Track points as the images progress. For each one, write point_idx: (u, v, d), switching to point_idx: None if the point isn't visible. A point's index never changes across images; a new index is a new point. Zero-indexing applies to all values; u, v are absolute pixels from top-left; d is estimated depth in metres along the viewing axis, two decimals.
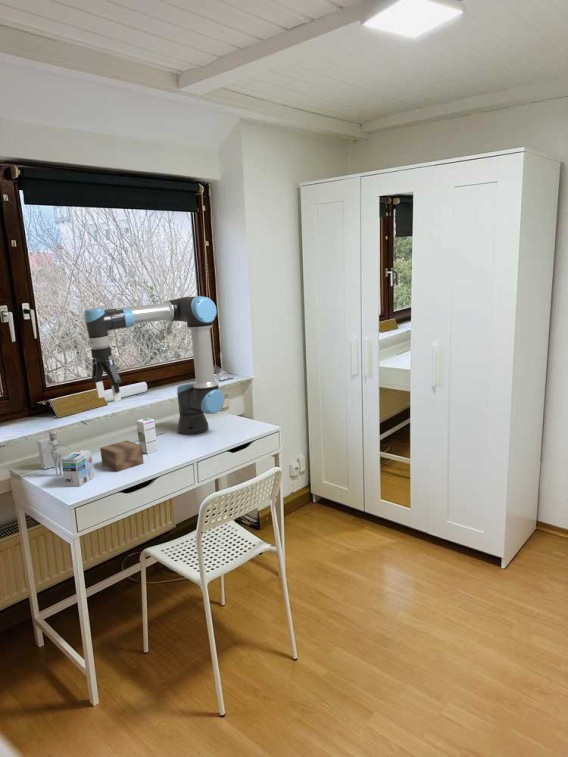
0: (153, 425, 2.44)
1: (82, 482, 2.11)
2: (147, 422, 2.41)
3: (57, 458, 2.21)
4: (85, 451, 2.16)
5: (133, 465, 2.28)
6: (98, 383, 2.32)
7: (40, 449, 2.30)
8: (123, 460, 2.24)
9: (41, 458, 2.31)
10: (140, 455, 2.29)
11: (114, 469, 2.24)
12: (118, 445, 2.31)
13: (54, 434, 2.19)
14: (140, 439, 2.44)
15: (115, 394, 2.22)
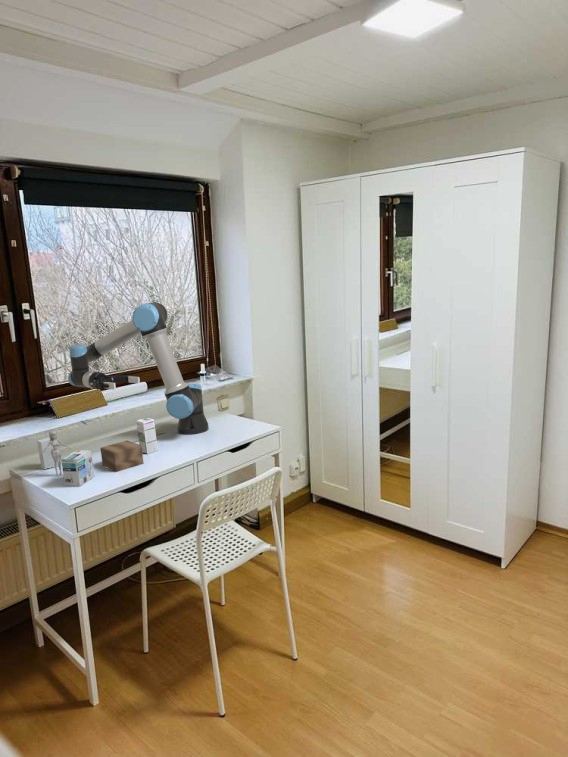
0: (153, 425, 2.44)
1: (82, 482, 2.11)
2: (147, 422, 2.41)
3: (57, 458, 2.21)
4: (85, 451, 2.16)
5: (133, 465, 2.28)
6: (129, 380, 2.54)
7: (40, 449, 2.30)
8: (122, 460, 2.24)
9: (41, 458, 2.31)
10: (140, 455, 2.29)
11: (114, 469, 2.24)
12: (118, 445, 2.31)
13: (54, 434, 2.19)
14: (141, 439, 2.44)
15: (109, 387, 2.41)
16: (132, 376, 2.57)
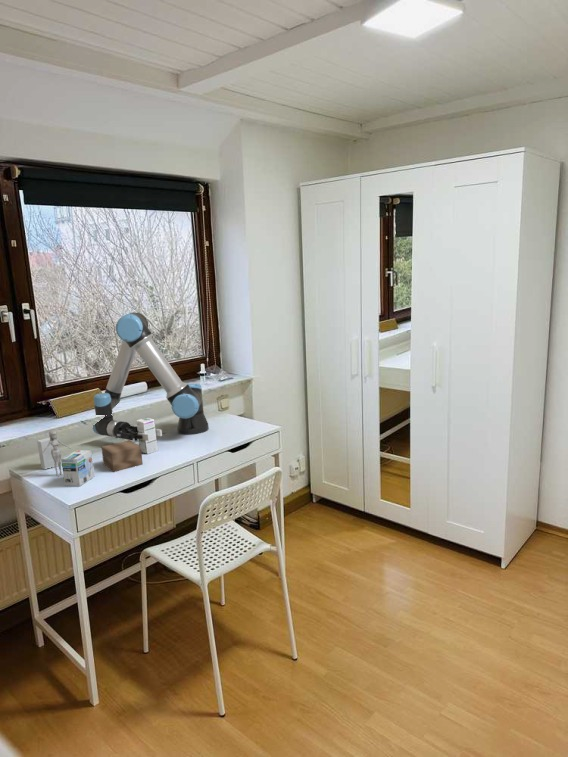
0: (153, 425, 2.44)
1: (82, 482, 2.11)
2: (147, 422, 2.41)
3: (57, 458, 2.21)
4: (85, 451, 2.16)
5: (132, 465, 2.27)
6: None
7: (40, 449, 2.30)
8: (120, 461, 2.24)
9: (41, 458, 2.31)
10: (139, 456, 2.28)
11: (112, 469, 2.24)
12: (119, 445, 2.31)
13: (54, 434, 2.19)
14: None
15: (143, 438, 2.40)
16: None
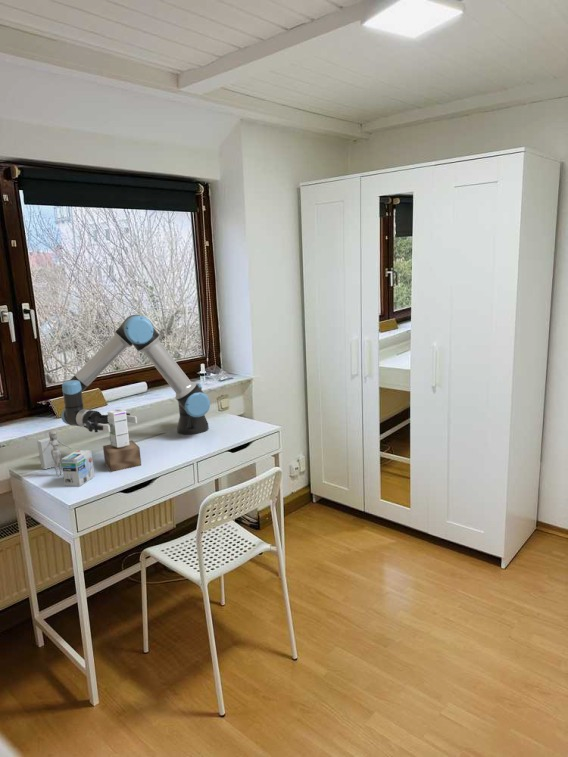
0: (125, 417, 2.28)
1: (82, 482, 2.11)
2: (118, 413, 2.26)
3: (57, 458, 2.21)
4: (85, 451, 2.16)
5: (130, 466, 2.27)
6: None
7: (40, 449, 2.30)
8: (118, 461, 2.24)
9: (41, 458, 2.31)
10: (137, 457, 2.28)
11: (110, 469, 2.25)
12: None
13: (54, 434, 2.19)
14: (111, 432, 2.28)
15: (104, 429, 2.22)
16: (129, 414, 2.38)
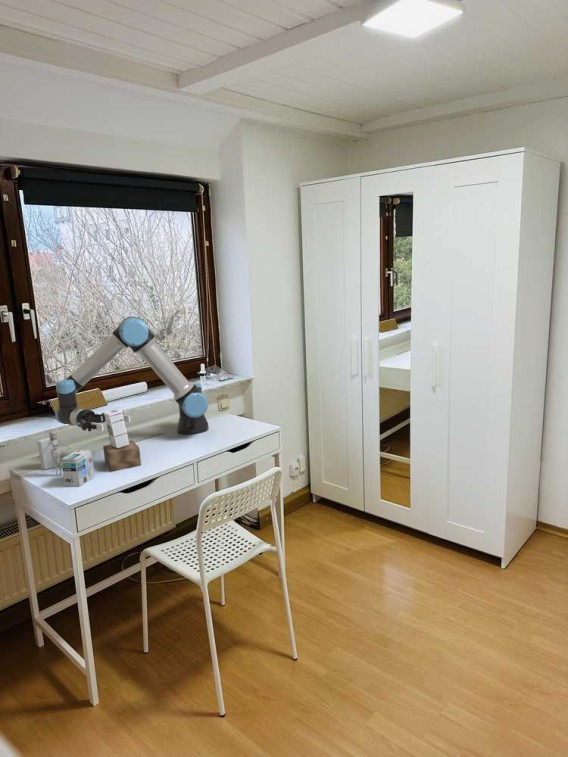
0: (121, 417, 2.27)
1: (82, 482, 2.11)
2: (114, 414, 2.25)
3: (57, 458, 2.21)
4: (85, 451, 2.16)
5: (130, 466, 2.27)
6: None
7: (40, 449, 2.30)
8: (117, 461, 2.24)
9: (41, 458, 2.31)
10: (137, 457, 2.27)
11: (109, 469, 2.25)
12: None
13: (54, 434, 2.19)
14: (110, 433, 2.27)
15: (97, 428, 2.24)
16: (123, 414, 2.40)
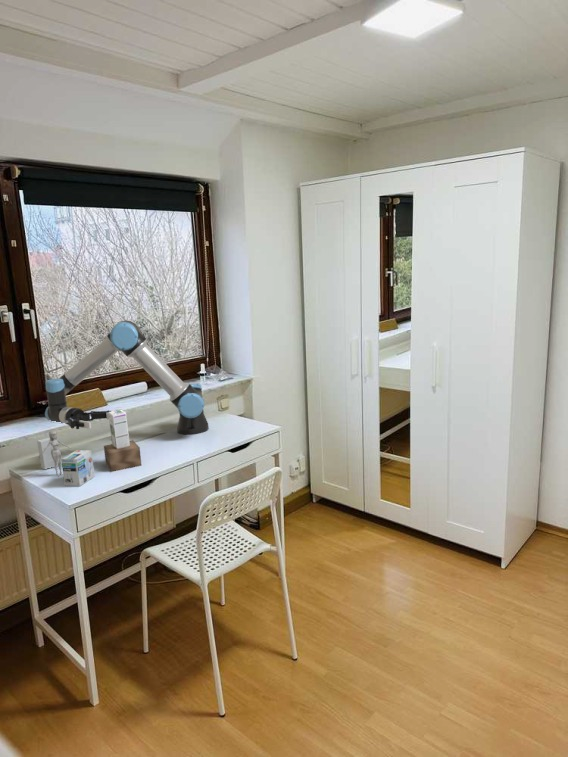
0: (125, 419, 2.26)
1: (82, 482, 2.11)
2: (118, 415, 2.24)
3: (57, 458, 2.21)
4: (85, 451, 2.16)
5: (130, 466, 2.26)
6: (107, 417, 2.41)
7: (40, 449, 2.30)
8: (118, 461, 2.24)
9: (41, 458, 2.31)
10: (138, 457, 2.27)
11: (110, 469, 2.25)
12: None
13: (54, 434, 2.19)
14: (112, 432, 2.27)
15: (85, 426, 2.28)
16: None
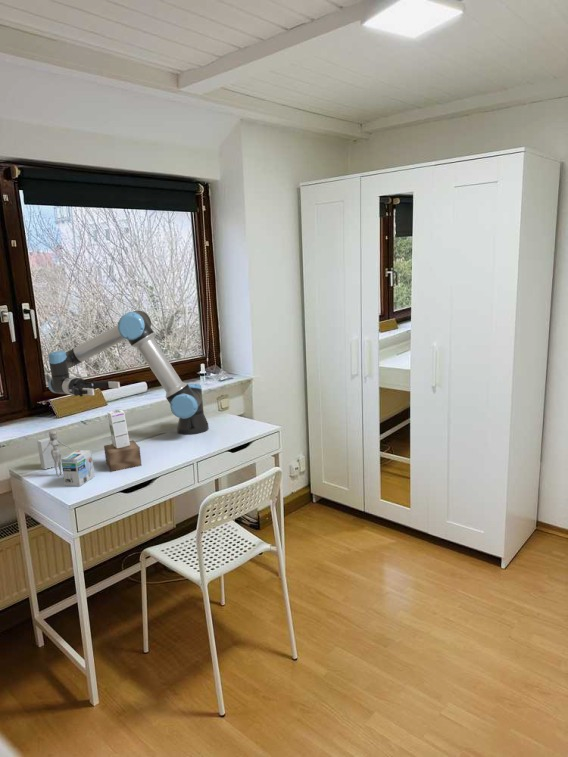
0: (123, 418, 2.26)
1: (82, 482, 2.11)
2: (116, 414, 2.25)
3: (57, 458, 2.21)
4: (85, 451, 2.16)
5: (130, 466, 2.26)
6: (109, 385, 2.49)
7: (40, 449, 2.30)
8: (118, 461, 2.24)
9: (41, 458, 2.31)
10: (138, 457, 2.27)
11: (110, 469, 2.25)
12: None
13: (54, 434, 2.19)
14: (111, 432, 2.28)
15: (88, 393, 2.36)
16: (112, 381, 2.52)
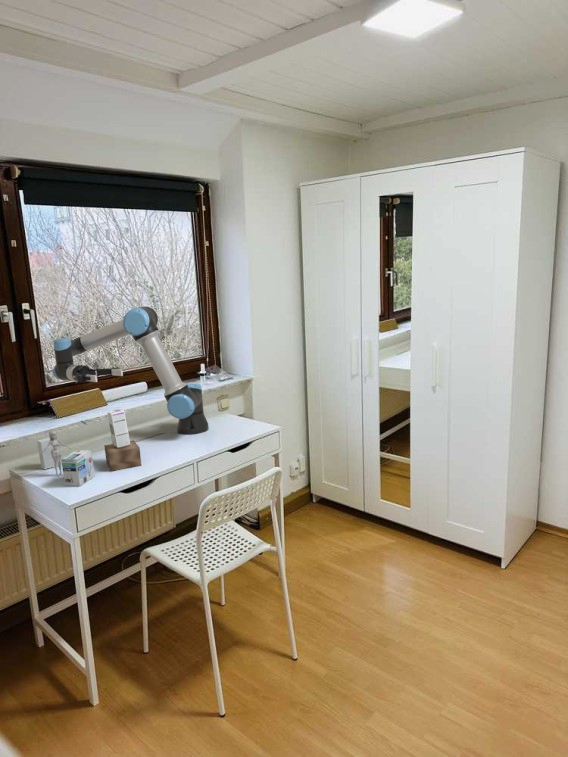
0: (124, 417, 2.27)
1: (82, 482, 2.11)
2: (116, 413, 2.26)
3: (57, 458, 2.21)
4: (85, 451, 2.16)
5: (130, 466, 2.26)
6: (112, 373, 2.52)
7: (40, 449, 2.30)
8: (117, 461, 2.24)
9: (41, 458, 2.31)
10: (137, 457, 2.27)
11: (110, 468, 2.25)
12: None
13: (54, 434, 2.19)
14: (111, 432, 2.28)
15: (91, 380, 2.40)
16: (116, 369, 2.55)
